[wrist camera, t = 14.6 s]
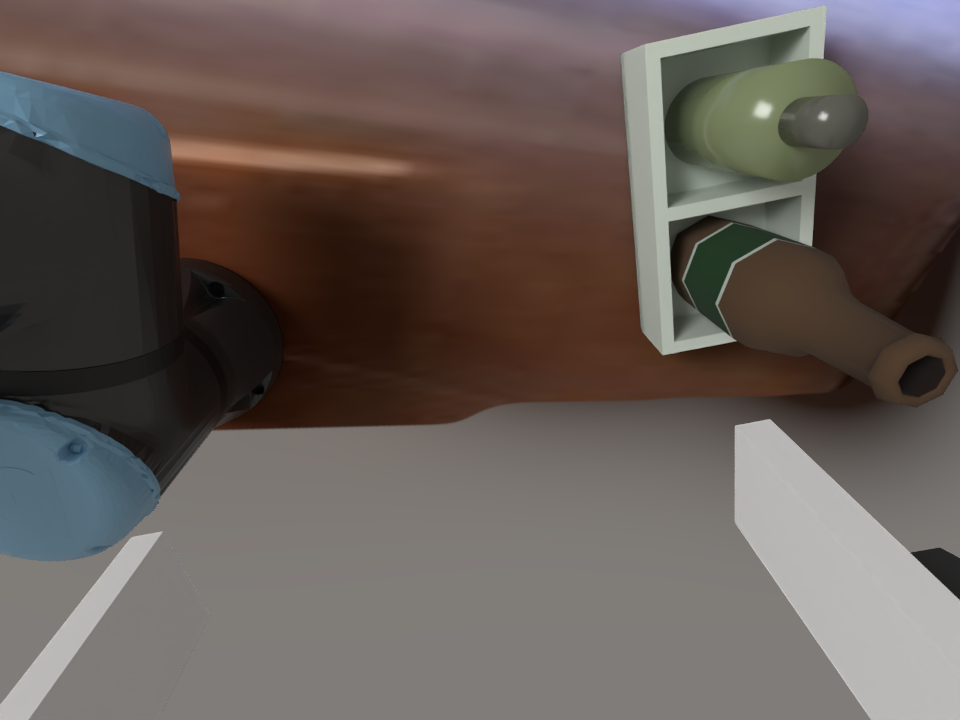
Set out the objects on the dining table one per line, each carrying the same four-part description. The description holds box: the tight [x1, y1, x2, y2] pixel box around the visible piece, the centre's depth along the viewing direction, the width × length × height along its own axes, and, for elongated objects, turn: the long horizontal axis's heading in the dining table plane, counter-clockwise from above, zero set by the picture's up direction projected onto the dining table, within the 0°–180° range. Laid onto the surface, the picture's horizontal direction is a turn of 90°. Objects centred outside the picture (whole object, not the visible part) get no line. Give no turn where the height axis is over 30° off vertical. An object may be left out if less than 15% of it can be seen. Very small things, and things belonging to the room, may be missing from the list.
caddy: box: [620, 5, 827, 355], centre depth 43 cm, size 12×23×6 cm, turn 11°
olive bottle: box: [665, 58, 868, 181], centre depth 35 cm, size 6×6×17 cm
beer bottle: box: [670, 215, 958, 407], centre depth 36 cm, size 8×8×24 cm
